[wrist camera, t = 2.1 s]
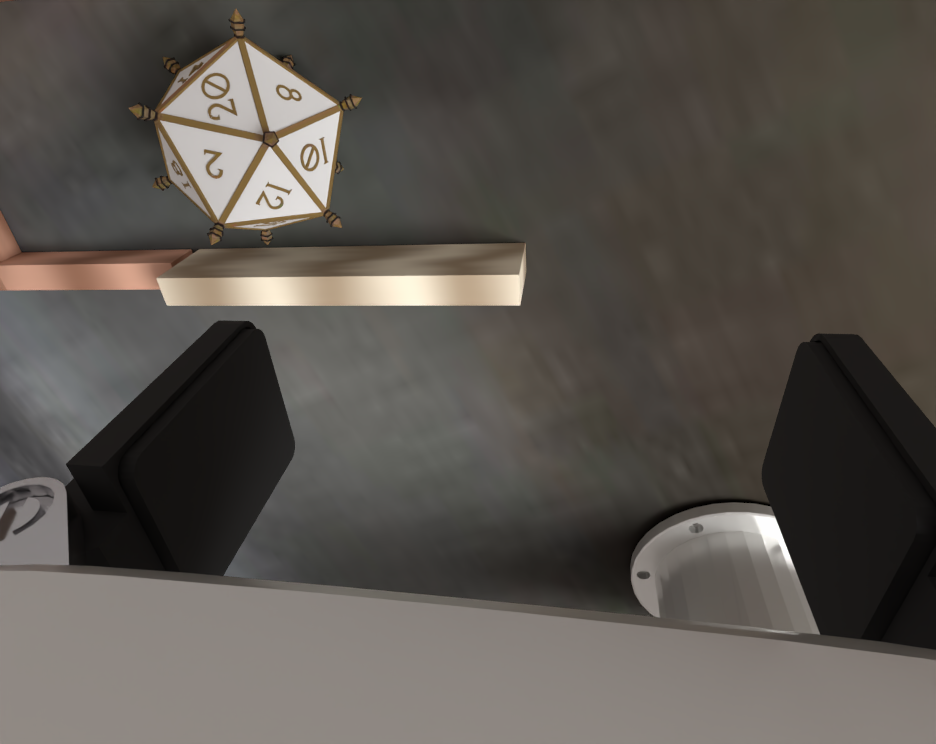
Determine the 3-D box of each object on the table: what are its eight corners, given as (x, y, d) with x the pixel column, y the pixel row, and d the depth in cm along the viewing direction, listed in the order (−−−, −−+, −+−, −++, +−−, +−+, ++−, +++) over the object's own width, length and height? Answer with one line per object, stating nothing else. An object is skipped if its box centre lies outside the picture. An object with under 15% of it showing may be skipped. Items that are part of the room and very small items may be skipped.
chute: (517, -103, 22) (506, -120, 18) (526, 270, 30) (520, 305, 26) (-147, -23, 27) (-248, -26, 24) (12, 276, 35) (-46, 305, 32)
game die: (284, 101, 31) (68, 21, 23) (403, 46, 26) (181, -82, 18) (294, 271, 31) (86, 252, 23) (414, 249, 26) (202, 216, 18)
